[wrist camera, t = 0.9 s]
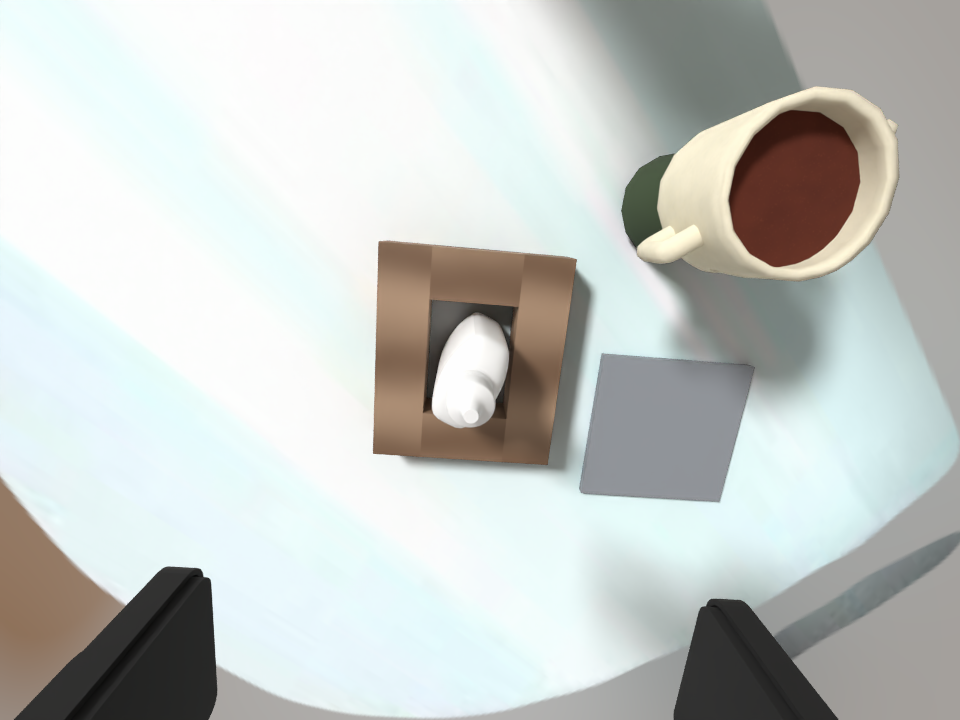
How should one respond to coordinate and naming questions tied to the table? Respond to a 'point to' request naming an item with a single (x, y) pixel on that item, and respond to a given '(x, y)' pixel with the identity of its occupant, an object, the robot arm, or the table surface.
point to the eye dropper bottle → (470, 372)
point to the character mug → (770, 189)
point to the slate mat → (663, 427)
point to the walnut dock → (406, 341)
